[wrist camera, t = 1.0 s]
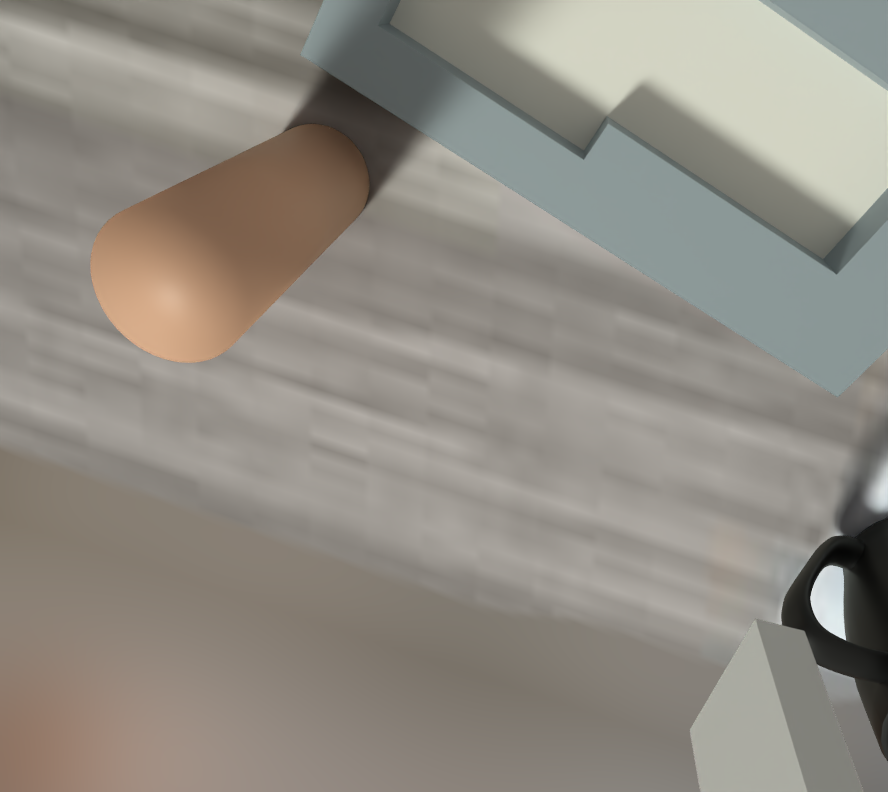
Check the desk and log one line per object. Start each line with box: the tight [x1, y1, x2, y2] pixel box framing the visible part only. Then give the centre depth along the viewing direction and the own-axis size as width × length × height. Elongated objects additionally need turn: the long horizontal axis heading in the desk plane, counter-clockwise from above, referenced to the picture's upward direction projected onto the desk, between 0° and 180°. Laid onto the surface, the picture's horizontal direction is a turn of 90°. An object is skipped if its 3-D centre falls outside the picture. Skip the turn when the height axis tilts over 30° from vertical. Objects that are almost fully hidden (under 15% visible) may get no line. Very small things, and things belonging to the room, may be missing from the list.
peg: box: [91, 124, 369, 363], centre depth 26 cm, size 4×4×13 cm
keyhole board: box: [300, 0, 888, 397], centre depth 26 cm, size 24×13×2 cm, turn 60°
